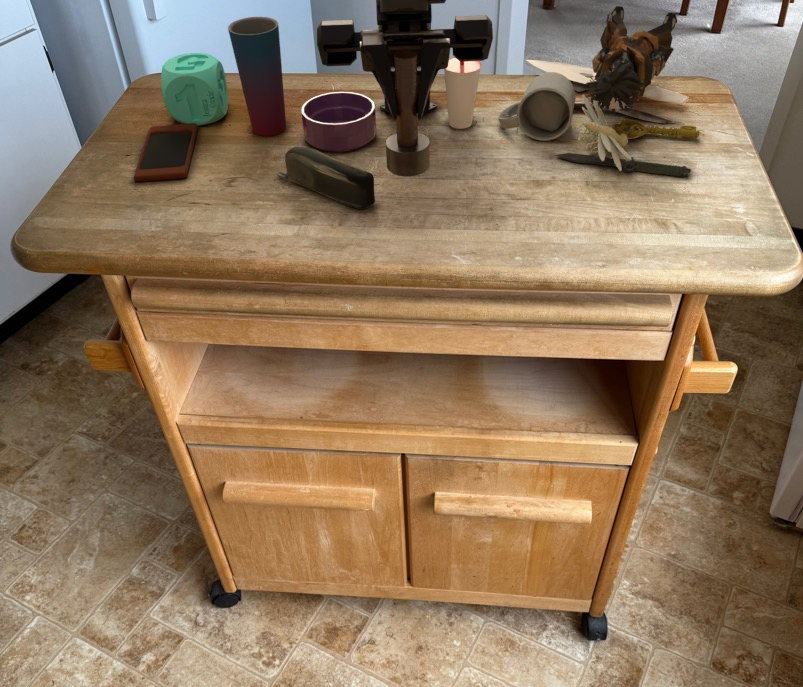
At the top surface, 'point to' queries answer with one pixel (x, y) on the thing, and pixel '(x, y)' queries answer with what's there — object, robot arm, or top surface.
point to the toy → (603, 134)
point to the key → (653, 130)
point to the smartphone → (166, 152)
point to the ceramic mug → (542, 108)
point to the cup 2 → (461, 91)
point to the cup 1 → (260, 72)
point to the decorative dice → (194, 88)
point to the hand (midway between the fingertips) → (407, 118)
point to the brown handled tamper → (407, 122)
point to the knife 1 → (576, 75)
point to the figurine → (628, 61)
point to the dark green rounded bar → (329, 177)
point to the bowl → (339, 121)
